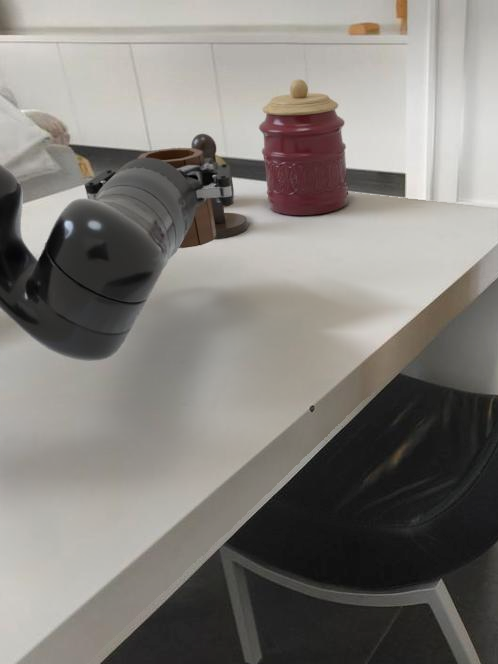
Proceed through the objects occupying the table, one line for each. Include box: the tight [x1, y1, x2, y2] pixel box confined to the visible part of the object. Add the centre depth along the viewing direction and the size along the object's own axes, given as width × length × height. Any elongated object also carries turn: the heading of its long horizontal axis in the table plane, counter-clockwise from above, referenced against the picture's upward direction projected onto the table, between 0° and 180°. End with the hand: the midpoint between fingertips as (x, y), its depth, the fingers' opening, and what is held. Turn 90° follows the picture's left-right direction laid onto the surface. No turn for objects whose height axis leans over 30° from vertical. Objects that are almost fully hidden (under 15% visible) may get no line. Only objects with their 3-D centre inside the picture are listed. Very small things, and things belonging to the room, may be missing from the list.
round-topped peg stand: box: [190, 133, 249, 240], centre depth 98 cm, size 9×9×13 cm
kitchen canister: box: [258, 78, 349, 216], centre depth 105 cm, size 13×13×18 cm
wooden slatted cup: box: [136, 147, 216, 249], centre depth 72 cm, size 6×7×8 cm
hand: (177, 170), depth 73 cm, fingers closed on wooden slatted cup, 6 cm apart
